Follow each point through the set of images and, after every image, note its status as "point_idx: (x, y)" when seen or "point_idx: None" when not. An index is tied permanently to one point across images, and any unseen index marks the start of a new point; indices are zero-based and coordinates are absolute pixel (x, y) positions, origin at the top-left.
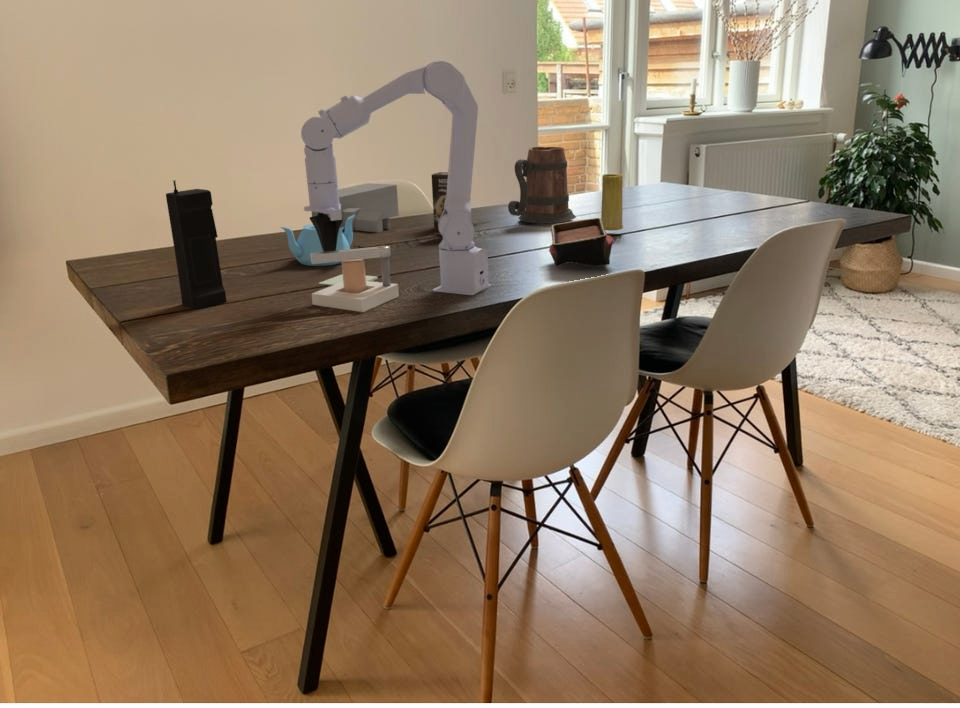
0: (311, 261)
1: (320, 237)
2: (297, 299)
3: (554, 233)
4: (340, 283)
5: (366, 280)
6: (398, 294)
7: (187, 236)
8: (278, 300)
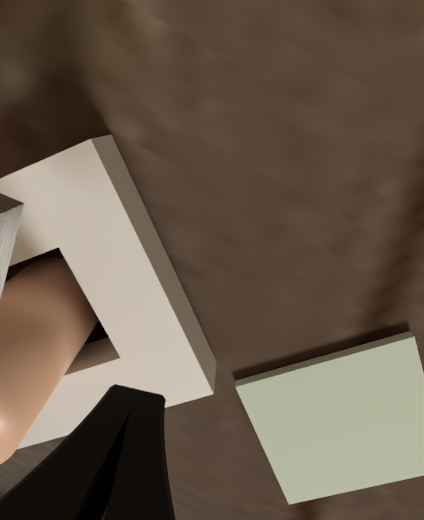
0: (8, 201)
1: (85, 485)
2: (278, 144)
3: None
4: (173, 333)
5: (274, 458)
6: None
7: None
8: (343, 62)
